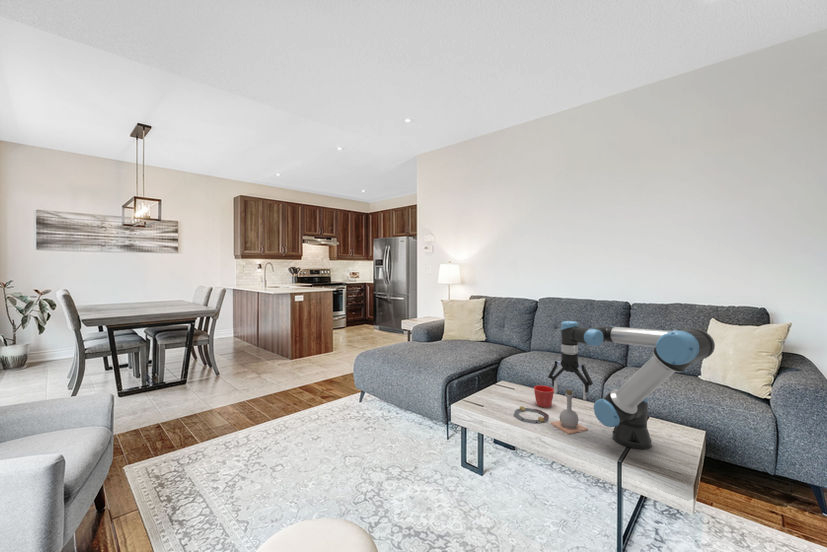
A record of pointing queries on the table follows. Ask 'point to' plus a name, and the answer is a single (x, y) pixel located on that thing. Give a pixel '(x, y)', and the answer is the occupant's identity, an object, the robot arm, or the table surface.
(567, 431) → the coaster
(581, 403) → the table surface
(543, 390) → the flower pot
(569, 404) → the potion bottle
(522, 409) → the collar
